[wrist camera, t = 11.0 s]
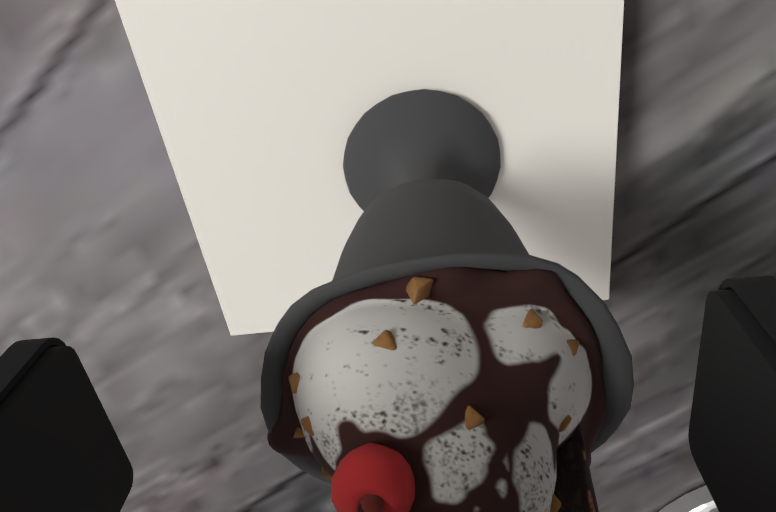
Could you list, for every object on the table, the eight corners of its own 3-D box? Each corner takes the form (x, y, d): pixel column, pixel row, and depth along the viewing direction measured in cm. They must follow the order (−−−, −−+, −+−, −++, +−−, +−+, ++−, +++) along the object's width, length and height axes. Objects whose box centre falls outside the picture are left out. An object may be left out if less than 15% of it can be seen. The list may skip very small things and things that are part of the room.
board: (624, -268, 15) (638, -276, 14) (601, 283, 23) (608, 299, 22) (75, -167, 16) (56, -170, 15) (237, 319, 24) (231, 335, 24)
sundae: (287, 84, 18) (64, 613, 6) (517, 38, 17) (838, 532, 5) (341, 266, 22) (274, 836, 9) (533, 235, 21) (744, 808, 9)
